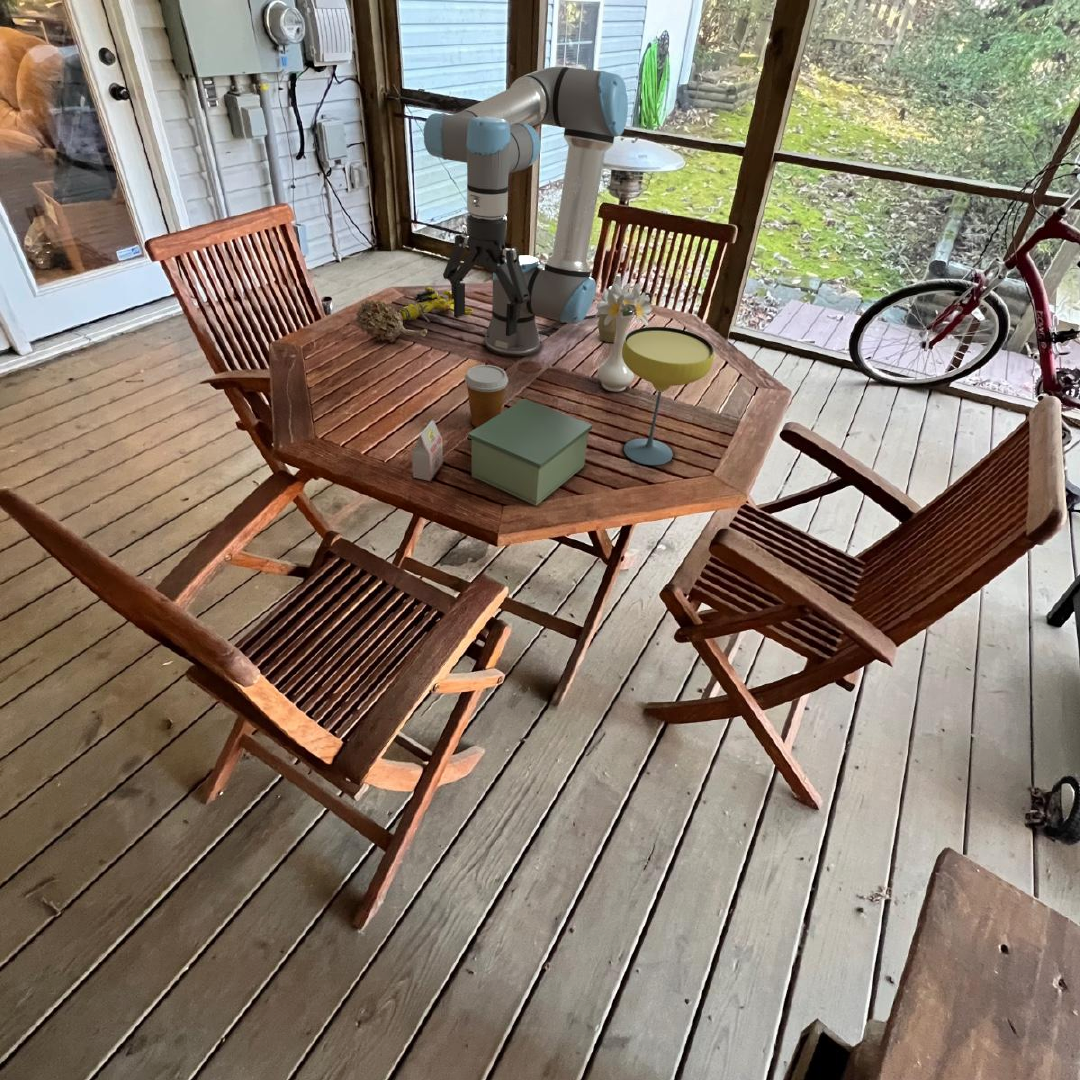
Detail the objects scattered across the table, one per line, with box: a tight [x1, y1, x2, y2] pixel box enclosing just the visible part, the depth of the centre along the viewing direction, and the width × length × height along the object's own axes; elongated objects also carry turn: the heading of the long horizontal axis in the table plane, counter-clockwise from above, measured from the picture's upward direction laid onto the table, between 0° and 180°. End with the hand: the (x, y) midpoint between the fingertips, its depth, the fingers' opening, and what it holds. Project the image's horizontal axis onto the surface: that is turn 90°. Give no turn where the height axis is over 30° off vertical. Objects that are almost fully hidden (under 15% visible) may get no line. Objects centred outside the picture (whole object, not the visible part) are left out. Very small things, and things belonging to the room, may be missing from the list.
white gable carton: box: [411, 419, 444, 482], centre depth 137 cm, size 4×7×10 cm, turn 165°
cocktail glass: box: [622, 326, 715, 467], centre depth 143 cm, size 18×18×25 cm
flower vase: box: [593, 282, 653, 393], centre depth 167 cm, size 13×18×25 cm
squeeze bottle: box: [597, 274, 624, 343], centre depth 192 cm, size 8×8×18 cm
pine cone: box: [355, 299, 428, 343], centre depth 183 cm, size 22×10×10 cm, turn 70°
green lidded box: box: [467, 398, 594, 507], centre depth 139 cm, size 19×17×10 cm
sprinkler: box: [399, 286, 474, 323], centre depth 200 cm, size 19×8×20 cm
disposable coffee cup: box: [464, 364, 509, 428], centre depth 152 cm, size 10×10×12 cm
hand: (484, 324), depth 142 cm, fingers open, 13 cm apart
